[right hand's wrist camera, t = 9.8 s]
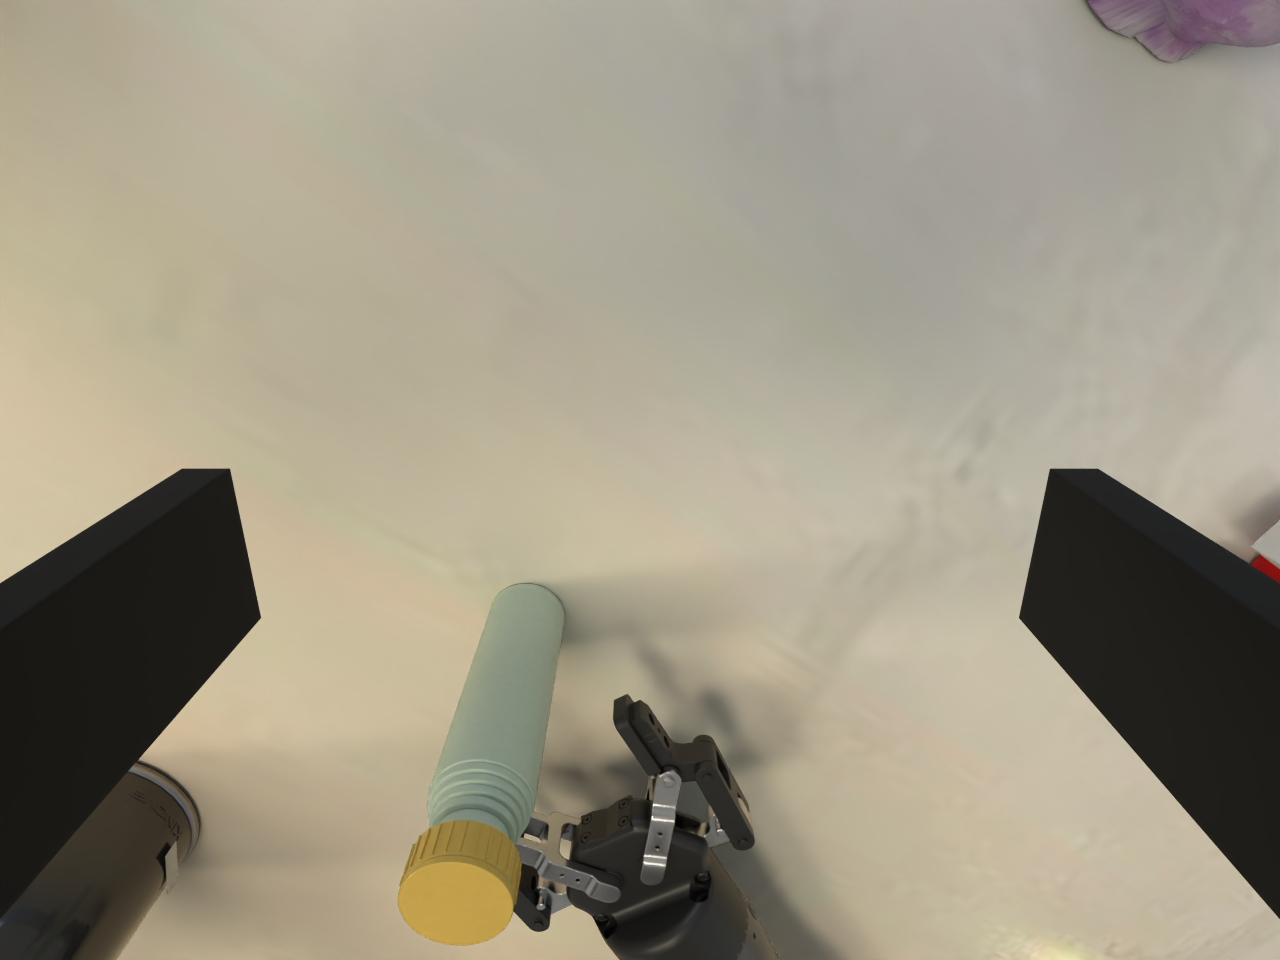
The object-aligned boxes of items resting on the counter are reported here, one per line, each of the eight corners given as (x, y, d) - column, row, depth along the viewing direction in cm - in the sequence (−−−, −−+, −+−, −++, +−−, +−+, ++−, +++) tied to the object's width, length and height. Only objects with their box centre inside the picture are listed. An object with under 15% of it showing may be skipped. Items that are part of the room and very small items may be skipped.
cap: (388, 844, 28) (372, 888, 26) (483, 801, 27) (472, 844, 26) (451, 914, 29) (439, 961, 28) (543, 876, 29) (537, 921, 27)
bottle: (475, 603, 44) (372, 877, 27) (539, 570, 43) (475, 832, 26) (515, 658, 45) (441, 953, 28) (578, 628, 44) (541, 912, 27)
